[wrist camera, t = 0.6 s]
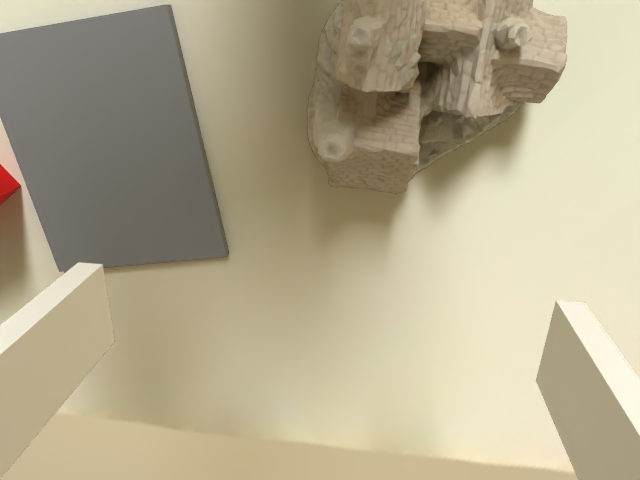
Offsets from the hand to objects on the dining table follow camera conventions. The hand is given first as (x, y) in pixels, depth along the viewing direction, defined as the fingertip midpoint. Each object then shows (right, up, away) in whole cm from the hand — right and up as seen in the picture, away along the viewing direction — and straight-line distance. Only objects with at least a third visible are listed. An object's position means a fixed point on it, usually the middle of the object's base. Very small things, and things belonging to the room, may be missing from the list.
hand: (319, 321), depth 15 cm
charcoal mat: (-17, +10, +27) cm, 34 cm away
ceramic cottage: (+7, +14, +23) cm, 28 cm away
